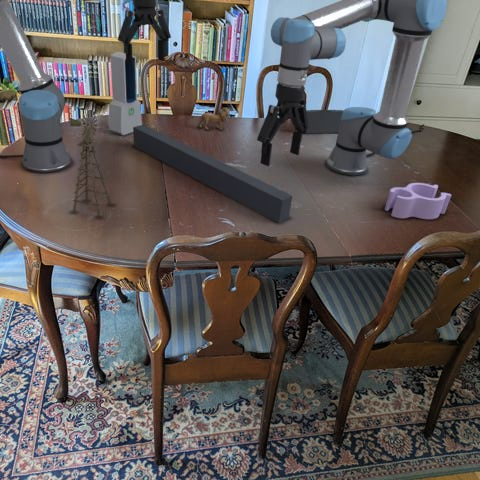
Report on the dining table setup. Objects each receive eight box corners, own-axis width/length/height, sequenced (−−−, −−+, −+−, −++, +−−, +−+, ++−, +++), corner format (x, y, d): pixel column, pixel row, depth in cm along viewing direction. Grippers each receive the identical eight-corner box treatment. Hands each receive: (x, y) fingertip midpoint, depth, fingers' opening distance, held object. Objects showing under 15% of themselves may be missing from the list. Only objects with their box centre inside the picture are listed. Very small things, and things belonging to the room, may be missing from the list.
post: (133, 146, 179) (133, 127, 175) (144, 143, 183) (143, 124, 178) (278, 223, 141) (282, 200, 136) (288, 217, 144) (292, 195, 140)
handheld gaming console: (340, 130, 217) (344, 109, 212) (343, 132, 215) (347, 111, 209) (295, 131, 210) (299, 109, 204) (298, 134, 208) (301, 111, 202)
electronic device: (121, 136, 186) (117, 57, 170) (107, 131, 189) (102, 53, 173) (142, 128, 196) (141, 53, 179) (129, 124, 199) (126, 49, 182)
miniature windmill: (98, 218, 133) (90, 115, 117) (71, 213, 134) (59, 110, 118) (112, 203, 141) (106, 105, 124) (86, 199, 142) (76, 100, 125)
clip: (399, 222, 147) (405, 203, 144) (377, 203, 157) (382, 185, 153) (449, 217, 154) (457, 198, 150) (426, 199, 163) (432, 181, 160)
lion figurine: (226, 125, 208) (227, 105, 203) (230, 130, 204) (231, 109, 199) (194, 126, 203) (195, 106, 198) (197, 131, 199) (198, 110, 194)
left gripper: (118, -5, 140) (121, 68, 151) (181, -6, 156) (180, 60, 167) (104, -9, 144) (108, 63, 155) (167, -9, 160) (167, 56, 171)
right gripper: (271, 94, 113) (261, 174, 125) (329, 81, 129) (315, 153, 141) (249, 86, 117) (241, 164, 129) (307, 75, 133) (295, 145, 145)
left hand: (145, 62), depth 161 cm, fingers open, 13 cm apart
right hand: (280, 159), depth 135 cm, fingers open, 13 cm apart
